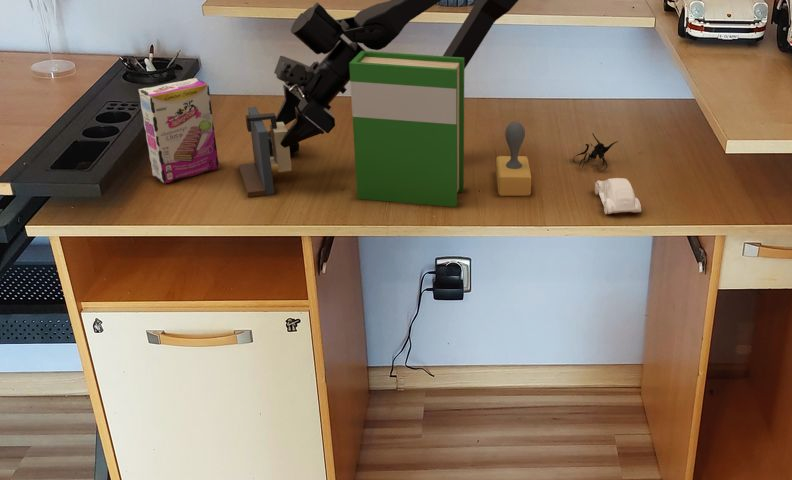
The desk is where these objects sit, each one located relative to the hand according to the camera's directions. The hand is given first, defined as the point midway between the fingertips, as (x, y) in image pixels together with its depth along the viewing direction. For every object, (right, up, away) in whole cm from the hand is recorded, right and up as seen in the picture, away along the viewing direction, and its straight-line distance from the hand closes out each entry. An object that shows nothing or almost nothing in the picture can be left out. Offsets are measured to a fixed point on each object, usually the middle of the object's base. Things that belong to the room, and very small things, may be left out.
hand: (278, 136), depth 161 cm
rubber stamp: (+42, -8, +4) cm, 43 cm away
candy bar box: (-18, -6, +5) cm, 20 cm away
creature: (+58, -3, +14) cm, 59 cm away
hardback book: (+24, -10, 0) cm, 26 cm away
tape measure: (-3, 0, +15) cm, 15 cm away
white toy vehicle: (+60, -12, -1) cm, 61 cm away
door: (-3, -7, +3) cm, 9 cm away
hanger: (-2, -5, +2) cm, 6 cm away
